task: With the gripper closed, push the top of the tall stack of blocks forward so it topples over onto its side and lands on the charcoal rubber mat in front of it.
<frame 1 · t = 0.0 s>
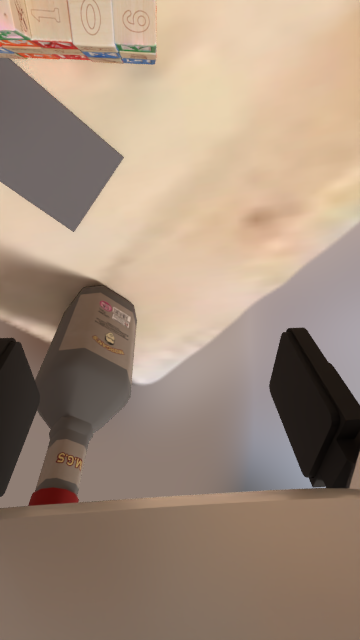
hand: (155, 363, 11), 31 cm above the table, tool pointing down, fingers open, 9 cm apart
liquor: (102, 312, 47), on the table
stack of blocks: (37, 15, 28), on the table, touching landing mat
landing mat: (2, 123, 33), on the table
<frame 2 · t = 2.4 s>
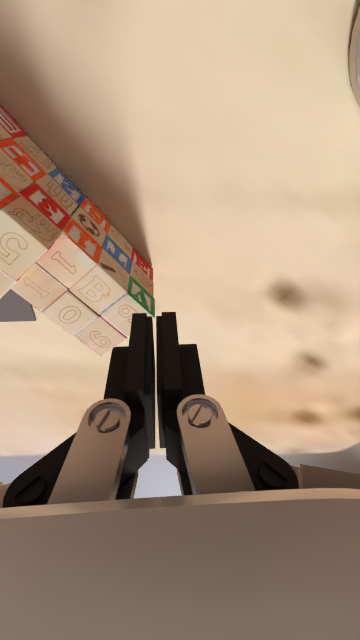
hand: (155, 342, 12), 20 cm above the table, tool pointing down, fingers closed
stack of blocks: (50, 204, 28), on the table, touching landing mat
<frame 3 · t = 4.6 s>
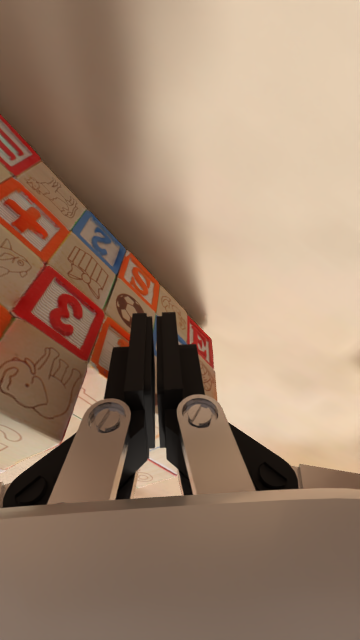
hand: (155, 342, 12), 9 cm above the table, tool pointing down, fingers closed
stack of blocks: (75, 255, 19), on the table, touching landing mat
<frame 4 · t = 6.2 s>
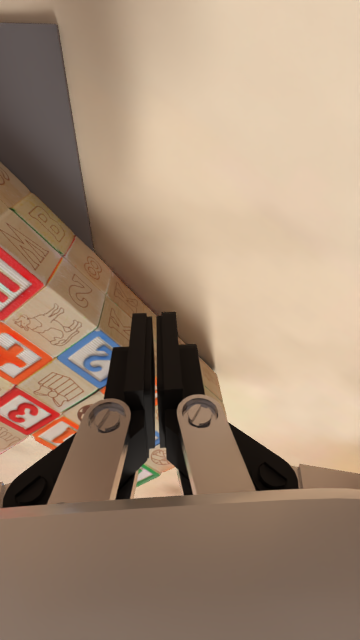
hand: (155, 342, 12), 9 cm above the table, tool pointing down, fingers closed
stack of blocks: (128, 310, 18), point 3 cm above the table, touching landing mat
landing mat: (8, 272, 20), on the table
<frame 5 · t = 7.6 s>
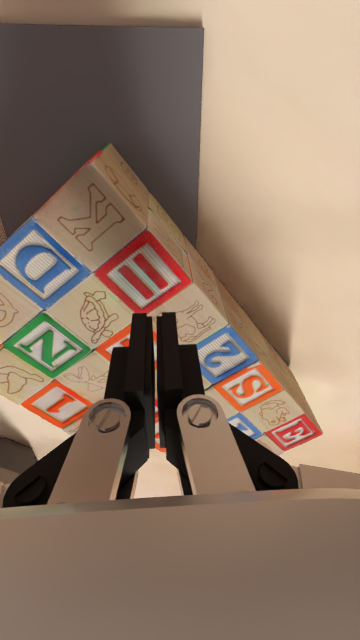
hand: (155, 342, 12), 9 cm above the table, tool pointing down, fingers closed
stack of blocks: (237, 307, 18), point 3 cm above the table, touching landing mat
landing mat: (109, 270, 20), on the table
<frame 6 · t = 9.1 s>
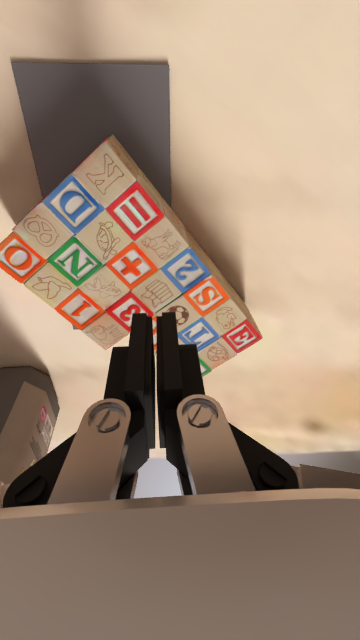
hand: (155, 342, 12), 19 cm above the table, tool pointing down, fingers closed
liquor: (20, 390, 40), on the table
stack of blocks: (198, 244, 27), point 3 cm above the table, touching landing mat
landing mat: (111, 224, 29), on the table
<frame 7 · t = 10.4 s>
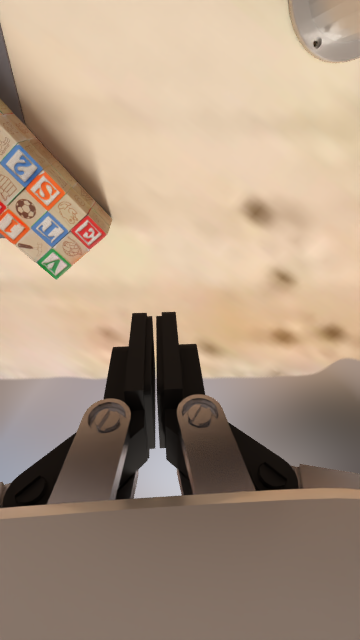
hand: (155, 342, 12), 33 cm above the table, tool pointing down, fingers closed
stack of blocks: (41, 150, 34), point 3 cm above the table, touching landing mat
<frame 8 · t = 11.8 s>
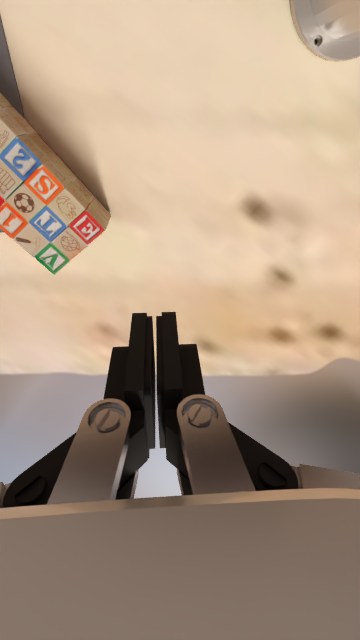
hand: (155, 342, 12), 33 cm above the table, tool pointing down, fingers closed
stack of blocks: (40, 144, 34), point 3 cm above the table, touching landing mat
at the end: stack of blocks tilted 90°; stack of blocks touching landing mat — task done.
